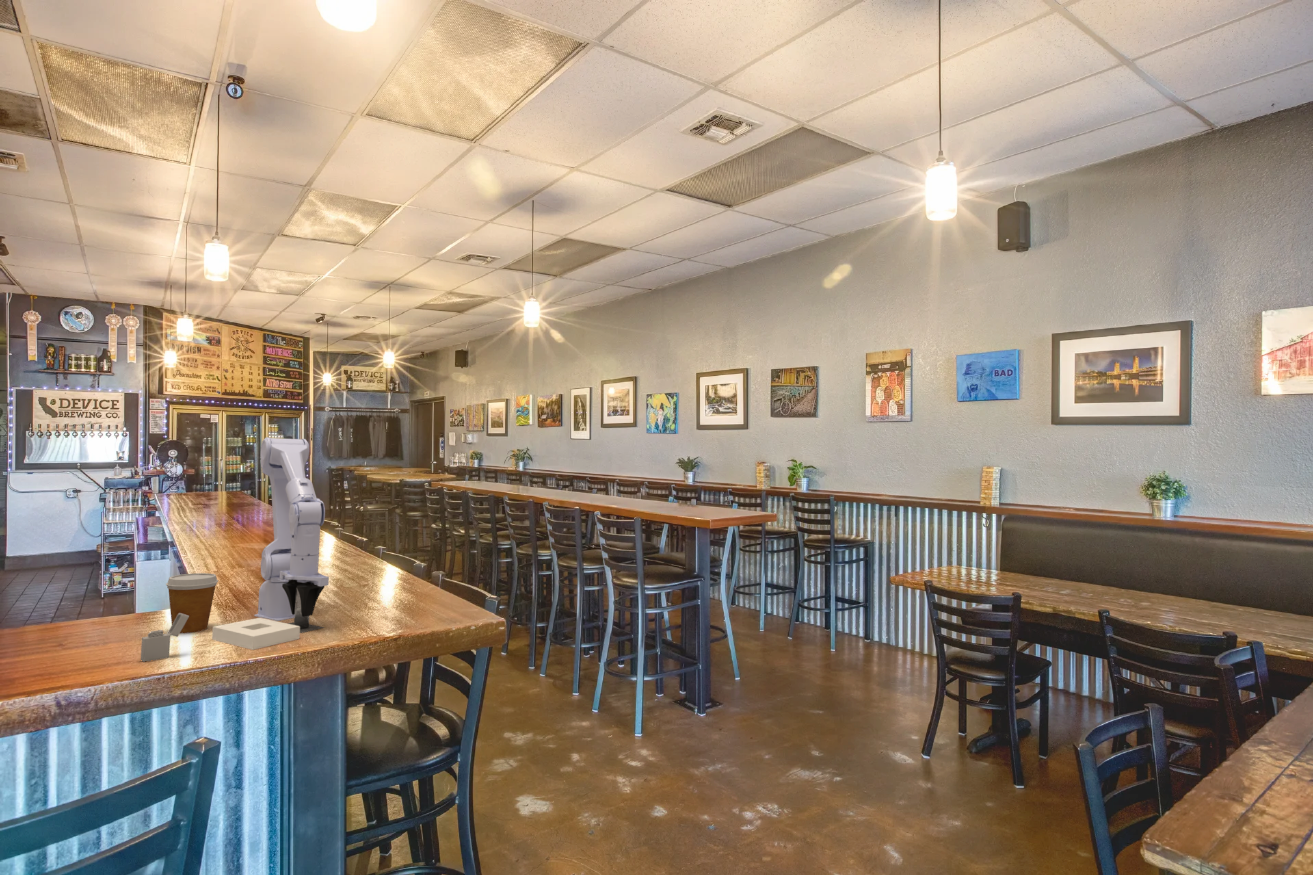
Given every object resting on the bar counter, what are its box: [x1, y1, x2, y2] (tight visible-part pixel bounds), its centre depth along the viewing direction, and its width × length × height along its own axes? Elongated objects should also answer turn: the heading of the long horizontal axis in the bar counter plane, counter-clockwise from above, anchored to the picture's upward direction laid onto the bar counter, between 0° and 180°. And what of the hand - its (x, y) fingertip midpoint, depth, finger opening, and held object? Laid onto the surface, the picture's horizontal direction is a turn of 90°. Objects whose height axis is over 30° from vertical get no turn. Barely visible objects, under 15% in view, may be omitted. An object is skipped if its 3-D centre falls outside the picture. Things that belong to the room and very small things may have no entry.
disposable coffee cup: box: [165, 572, 219, 634], centre depth 148 cm, size 10×10×12 cm
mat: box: [287, 621, 326, 634], centre depth 152 cm, size 10×8×1 cm
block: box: [211, 617, 301, 651], centre depth 142 cm, size 14×10×3 cm
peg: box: [293, 588, 310, 629], centre depth 152 cm, size 3×3×9 cm
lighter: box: [140, 613, 189, 663], centre depth 129 cm, size 7×2×8 cm, turn 144°
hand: (302, 614), depth 152 cm, fingers closed on peg, 3 cm apart
